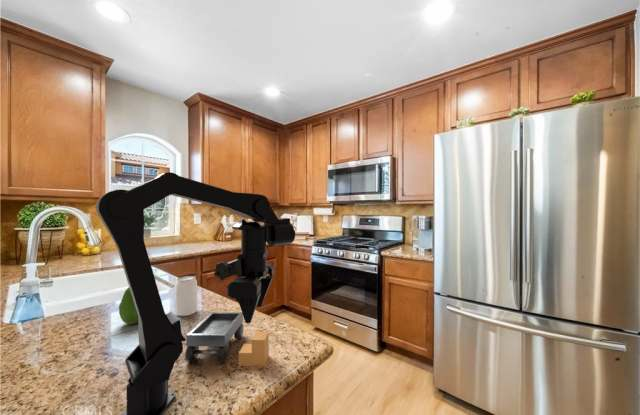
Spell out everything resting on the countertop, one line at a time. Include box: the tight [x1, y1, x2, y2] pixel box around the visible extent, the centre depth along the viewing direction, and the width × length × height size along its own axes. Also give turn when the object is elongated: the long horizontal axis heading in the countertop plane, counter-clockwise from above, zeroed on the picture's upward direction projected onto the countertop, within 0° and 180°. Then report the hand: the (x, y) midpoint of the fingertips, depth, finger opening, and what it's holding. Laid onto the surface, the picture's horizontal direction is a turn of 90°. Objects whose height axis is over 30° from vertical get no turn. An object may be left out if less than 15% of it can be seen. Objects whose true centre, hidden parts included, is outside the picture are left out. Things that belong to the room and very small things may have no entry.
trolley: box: [184, 311, 244, 363], centre depth 66 cm, size 14×9×7 cm, turn 179°
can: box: [175, 275, 198, 317], centre depth 89 cm, size 6×6×12 cm
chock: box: [238, 330, 270, 367], centre depth 61 cm, size 6×4×6 cm, turn 89°
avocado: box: [118, 287, 139, 325], centre depth 81 cm, size 8×8×12 cm
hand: (253, 314), depth 61 cm, fingers open, 9 cm apart
